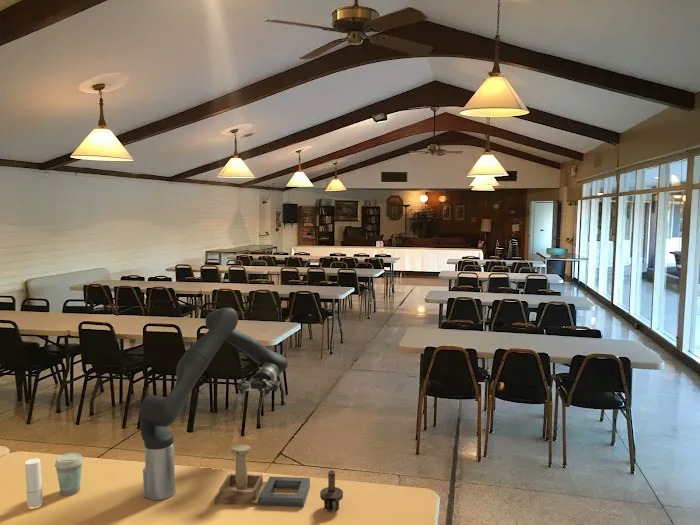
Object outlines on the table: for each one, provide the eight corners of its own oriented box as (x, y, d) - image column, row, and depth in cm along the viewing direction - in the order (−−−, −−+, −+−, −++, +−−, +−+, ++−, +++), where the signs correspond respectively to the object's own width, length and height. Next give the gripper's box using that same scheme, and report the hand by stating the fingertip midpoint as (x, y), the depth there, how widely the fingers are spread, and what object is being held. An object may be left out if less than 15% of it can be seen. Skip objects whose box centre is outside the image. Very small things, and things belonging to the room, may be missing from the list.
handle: (247, 495, 192) (246, 451, 191) (229, 493, 194) (228, 449, 192) (253, 488, 197) (252, 445, 195) (236, 486, 198) (235, 443, 197)
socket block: (260, 505, 188) (260, 496, 187) (269, 484, 202) (269, 476, 201) (303, 507, 187) (303, 498, 186) (310, 486, 200) (310, 477, 200)
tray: (214, 503, 189) (214, 491, 188) (227, 483, 203) (227, 472, 202) (257, 505, 188) (257, 493, 187) (267, 484, 202) (266, 473, 201)
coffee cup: (50, 495, 195) (48, 460, 193) (71, 483, 203) (69, 450, 201) (69, 500, 191) (67, 464, 190) (90, 488, 199) (88, 454, 198)
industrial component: (340, 515, 182) (340, 478, 181) (317, 513, 183) (317, 476, 182) (345, 500, 191) (345, 465, 190) (324, 498, 192) (324, 463, 191)
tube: (45, 504, 189) (43, 459, 187) (34, 510, 185) (32, 465, 183) (35, 501, 190) (33, 457, 189) (24, 508, 186) (21, 463, 185)
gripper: (246, 368, 222) (233, 380, 206) (283, 369, 220) (273, 381, 204) (246, 387, 222) (234, 401, 206) (283, 388, 221) (273, 402, 205)
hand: (253, 391), depth 205 cm, fingers open, 8 cm apart
